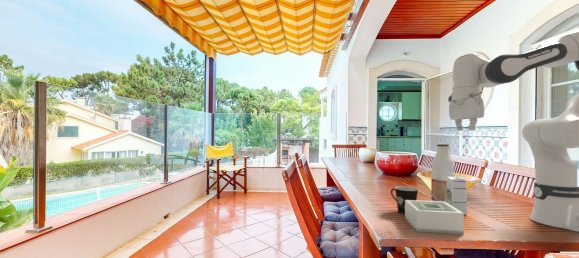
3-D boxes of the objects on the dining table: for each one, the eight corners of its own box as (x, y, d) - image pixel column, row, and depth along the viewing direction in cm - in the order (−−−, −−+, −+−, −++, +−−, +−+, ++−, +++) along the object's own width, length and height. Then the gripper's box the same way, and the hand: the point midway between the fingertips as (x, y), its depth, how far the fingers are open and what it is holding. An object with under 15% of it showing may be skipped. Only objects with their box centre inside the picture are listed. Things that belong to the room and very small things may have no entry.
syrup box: (467, 215, 108) (467, 179, 108) (451, 214, 109) (451, 178, 109) (461, 211, 113) (461, 176, 113) (446, 210, 115) (446, 176, 115)
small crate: (437, 220, 98) (437, 203, 98) (445, 226, 92) (445, 208, 92) (419, 219, 99) (419, 203, 99) (425, 225, 93) (425, 208, 93)
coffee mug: (421, 216, 106) (421, 190, 107) (400, 215, 106) (400, 190, 107) (408, 207, 118) (408, 184, 118) (389, 207, 118) (389, 184, 118)
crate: (444, 220, 102) (444, 201, 102) (463, 234, 88) (463, 213, 88) (404, 218, 104) (405, 199, 104) (417, 231, 90) (417, 210, 90)
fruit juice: (442, 208, 117) (442, 144, 117) (426, 203, 126) (426, 143, 126) (460, 207, 119) (460, 144, 119) (443, 202, 128) (443, 143, 128)
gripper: (489, 91, 96) (489, 130, 96) (461, 98, 116) (461, 130, 116) (470, 91, 97) (470, 130, 96) (446, 98, 117) (446, 130, 117)
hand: (465, 130), depth 106 cm, fingers open, 8 cm apart
